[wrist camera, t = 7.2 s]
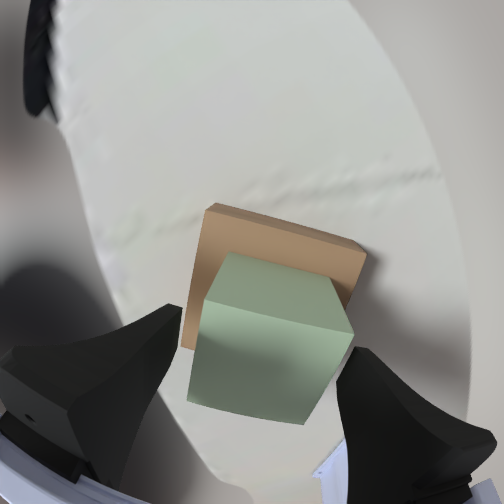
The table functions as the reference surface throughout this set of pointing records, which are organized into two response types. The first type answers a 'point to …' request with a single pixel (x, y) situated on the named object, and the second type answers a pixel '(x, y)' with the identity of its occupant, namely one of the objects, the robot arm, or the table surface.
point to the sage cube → (267, 340)
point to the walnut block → (266, 255)
